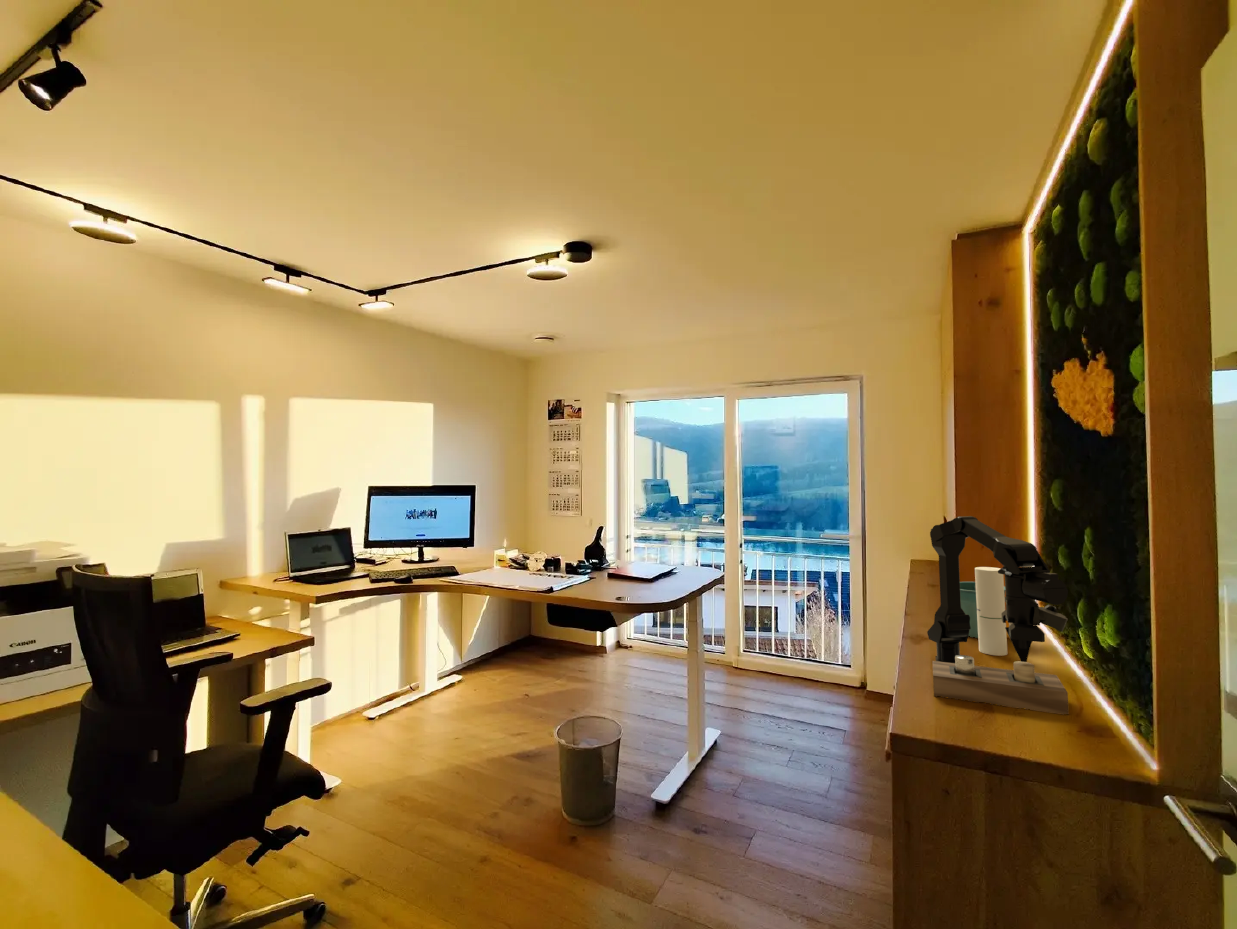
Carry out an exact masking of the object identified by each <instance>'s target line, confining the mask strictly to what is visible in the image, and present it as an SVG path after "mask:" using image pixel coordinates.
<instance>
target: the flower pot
mask: <svg viewBox="0 0 1237 929" xmlns="http://www.w3.org/2000/svg"><path fill="white" fill-rule="evenodd" d="M960 597H961V608H962V609H963V611H964V612H965V614H968V615H969V616H970V627H971V629H970V631H969V635H968V637H969V636H970V638H973V637H975V638H976V639H978V622H977V602H976V583H975V581H960ZM1005 597H1006V595H1005V585H1004V598H1005ZM975 638H974V639H975Z"/></svg>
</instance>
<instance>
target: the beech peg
mask: <svg viewBox="0 0 1237 929" xmlns="http://www.w3.org/2000/svg"><path fill="white" fill-rule="evenodd" d="M1012 664H1013V670H1014V681H1021V682H1029V683H1035V673H1036V671H1035V664H1034V663H1032V662H1031V663H1030V662H1021V661H1020V660H1017V661H1014V662H1013V663H1012Z"/></svg>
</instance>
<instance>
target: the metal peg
mask: <svg viewBox="0 0 1237 929" xmlns="http://www.w3.org/2000/svg"><path fill="white" fill-rule="evenodd" d="M974 666H975V658H974V657H973V656H970V655H965V654H964V655H963V654H960V655H956V656H955V667H956V674H964V675H972V676H975V670H974Z"/></svg>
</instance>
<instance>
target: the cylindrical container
mask: <svg viewBox="0 0 1237 929" xmlns="http://www.w3.org/2000/svg"><path fill="white" fill-rule="evenodd" d="M1001 568H1002V567H1001ZM1001 568H999V567H991V566H977V567H974V577H975V578H974V579H975V580H974V582H975V583H976V602H977V622H978V638H977V639H978V640H977V641H978V651H979V652H980V653H983V654H986V655H990V656H999V657H1001V656H1002V657H1003V656H1007V655H1008V640H1007V638H1008V637H1007V635H1008V634H1007V631H1006V629H1005V627H1007V622H1006V623H1003V622H1002V614H1001V613H1002V612H1004V611H1005V610H1006V602H1005V598H1004V586H1005V578H1004V575H1003V574H999V573H998V570H1000V569H1001Z"/></svg>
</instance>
